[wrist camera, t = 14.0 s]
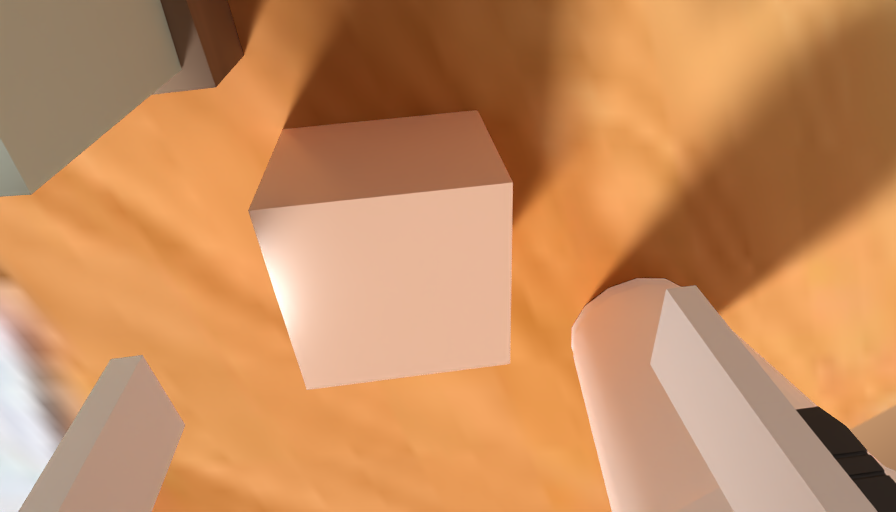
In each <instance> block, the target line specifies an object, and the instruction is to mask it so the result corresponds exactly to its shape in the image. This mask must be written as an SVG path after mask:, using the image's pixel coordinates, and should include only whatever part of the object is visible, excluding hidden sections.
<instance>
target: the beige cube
mask: <svg viewBox="0 0 896 512" xmlns="http://www.w3.org/2000/svg"><path fill="white" fill-rule="evenodd" d="M512 207H513V182H512V180H511V178H510V176H509V173H508V171H507V169H506V167H505V165H504V163H503V161H502V159H501V157H500V155H499V153H498V151H497V149H496V147H495V145H494V143H493V141H492V139H491V137H490V135H489V133H488V131H487V128H486V126H485V124H484V122H483V120H482V118H481V116H480V114H479V112H478V110H473V111H463V112H453V113H443V114H432V115H422V116H412V117H401V118H391V119H381V120H371V121H360V122H350V123H340V124H329V125H319V126H309V127H299V128H288V129H282V132H281V134H280V137H279V139H278V141H277V144H276V146H275V148H274V151H273V153H272V156H271V158H270V160H269V163H268V165H267V167H266V170H265V172H264V175H263V177H262V179H261V182H260V184H259V186H258V189H257V191H256V194H255V196H254V198H253V201H252V203H251V205H250V208H249V210H248V211H249V214H250V217H251V220H252V224H253V227H254V230H255V233H256V236H257V239H258V242H259V245H260V248H261V251H262V254H263V257H264V260H265V263H266V266H267V269H268V272H269V275H270V279H271V282H272V285H273V288H274V291H275V294H276V297H277V300H278V303H279V306H280V309H281V312H282V315H283V318H284V321H285V324H286V327H287V330H288V333H289V337H290V340H291V343H292V346H293V349H294V352H295V355H296V358H297V361H298V364H299V367H300V370H301V373H302V376H303V379H304V382H305V385H306V388H307V390H309V389H317V388H325V387H333V386H340V385H348V384H356V383H364V382H372V381H379V380H387V379H395V378H403V377H411V376H418V375H426V374H434V373H442V372H450V371H457V370H465V369H473V368H481V367H489V366H496V365H504V364H510V333H511V270H512Z"/></svg>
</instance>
